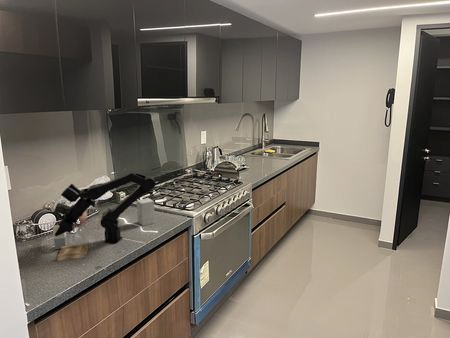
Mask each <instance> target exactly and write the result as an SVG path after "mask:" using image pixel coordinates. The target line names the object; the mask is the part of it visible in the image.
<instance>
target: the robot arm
mask: <svg viewBox="0 0 450 338" xmlns="http://www.w3.org/2000/svg"><path fill="white" fill-rule="evenodd" d="M130 183H134V184H136V185H137V186H136V187H135V189H134V190H132V191H131V192H130V193H129V194H128V195H127V196H126V197H125V198H124V199H122V200H121V201H120V202H119V203H118V204H117V205H115V207H113V208H110V207H108V208H106V210H105V211H103V212H102V214H101V217H100V226H101V227H102V228H103V229H104V241H103V242H104V243H106V244H117V243H118V242H120V241H121V240H123V238H124V237H123V236H121V227H119V222H120V221H119V220H118V218H120V216H121V214H123V213H124V212H125V211H126V210H127V209H128V208H129V207H130V206H132V205H133V204H134V203H136V202H137V200H139V198H140V197H142V196H143V195H146V194H148V193H150V192H151V191H152V190H154V189H155V187H156V181H155V178H154V177H153V176H151V175H144V174H140V173H136V172H135V171H130V172H128V173H126V174H123V175H121V176H118V177H116V178H114V179H111V180H108V181H106V182H102V183H97V184H93V185H90V186H89V187H87V188H82V189H80V188H78V187H76V186H75V184H73V183H70V184H69V185H68V187H66V188H65V189H64V190H63V191H62V192H61V194H60V196H61V197H63V198H64V199H66V200H67V201H68V202H70V203H74V204H72V205H70V206H69V205H67V204H64V203H59V202H58V203H56V206H55V208H54V211H53V213H56V214H61V215H62V217H61V220H59V222H58V224H57V225H59V226H60V227H59V228H58V230H57V232H56V233H55V236H58V235H61V234H63V233H65V232H66V233H71V232H72V231H73V230H74V227H75V225H74V224H75V223H76V222H77V220H78V219H79V218H80V217H81V216H82V215H83V213H84V212H85V211H87V210H89V207H93V208H96V205H97V204H96V200H98V199H99V198H101V197H103V196H104V195H106V194H107V193H109V192H110V191H113V190H115V189H117V188H120V187H122V186H124V185H127V184H130Z"/></svg>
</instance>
